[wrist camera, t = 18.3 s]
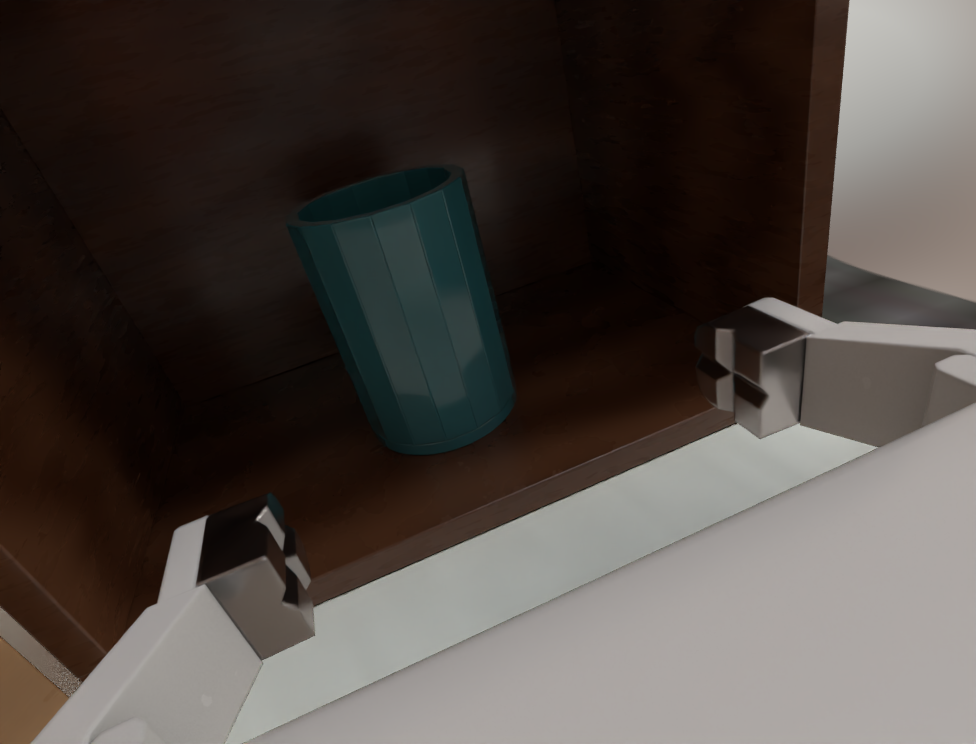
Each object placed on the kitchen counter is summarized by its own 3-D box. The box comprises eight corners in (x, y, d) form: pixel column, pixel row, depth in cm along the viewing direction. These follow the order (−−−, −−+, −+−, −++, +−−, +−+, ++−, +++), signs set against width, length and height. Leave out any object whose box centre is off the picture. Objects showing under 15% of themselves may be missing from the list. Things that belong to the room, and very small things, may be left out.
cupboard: (816, 388, 23) (908, -659, 11) (99, 700, 18) (-1238, -540, 6) (601, 268, 38) (536, -223, 26) (178, 421, 34) (-150, -91, 21)
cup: (540, 416, 24) (487, 178, 19) (387, 478, 23) (286, 242, 18) (488, 351, 30) (437, 156, 24) (364, 398, 28) (283, 203, 23)
